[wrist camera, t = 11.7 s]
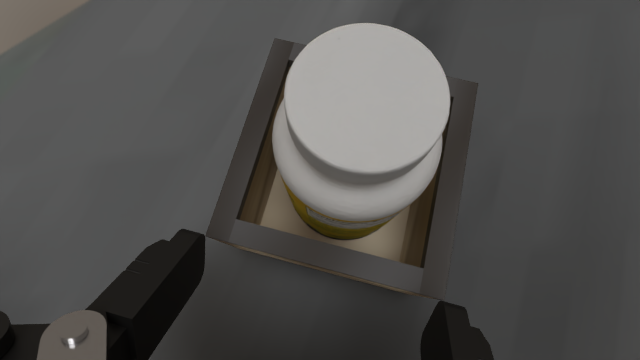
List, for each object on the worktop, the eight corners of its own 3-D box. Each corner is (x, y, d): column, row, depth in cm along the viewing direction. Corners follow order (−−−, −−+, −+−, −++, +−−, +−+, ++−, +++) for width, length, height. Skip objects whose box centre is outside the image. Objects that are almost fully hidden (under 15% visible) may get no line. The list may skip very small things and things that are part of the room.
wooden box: (437, 135, 22) (478, 83, 16) (407, 294, 20) (444, 300, 14) (286, 99, 23) (274, 38, 17) (238, 248, 20) (205, 236, 14)
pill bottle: (301, 131, 21) (282, -16, 11) (402, 149, 21) (487, 15, 10) (279, 231, 20) (230, 176, 9) (388, 252, 19) (472, 221, 9)
